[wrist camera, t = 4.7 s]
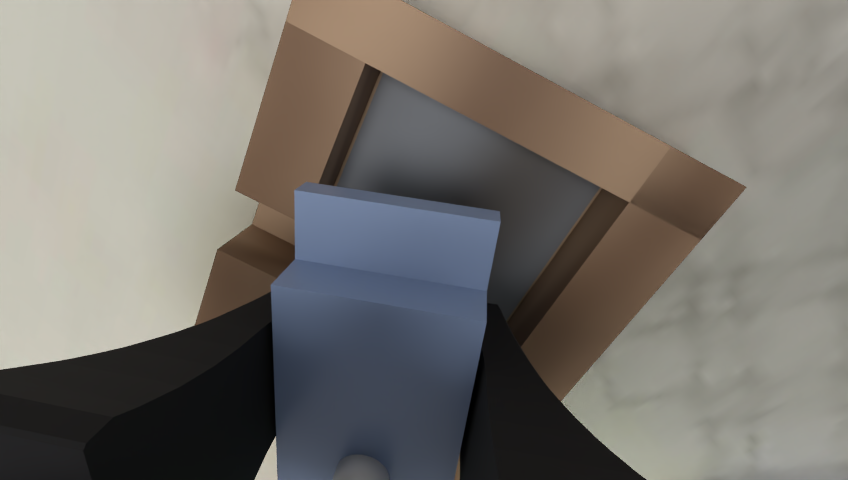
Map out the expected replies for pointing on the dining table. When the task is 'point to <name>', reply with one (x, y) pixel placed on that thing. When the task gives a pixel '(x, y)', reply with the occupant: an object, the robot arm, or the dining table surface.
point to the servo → (378, 334)
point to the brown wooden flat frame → (470, 173)
